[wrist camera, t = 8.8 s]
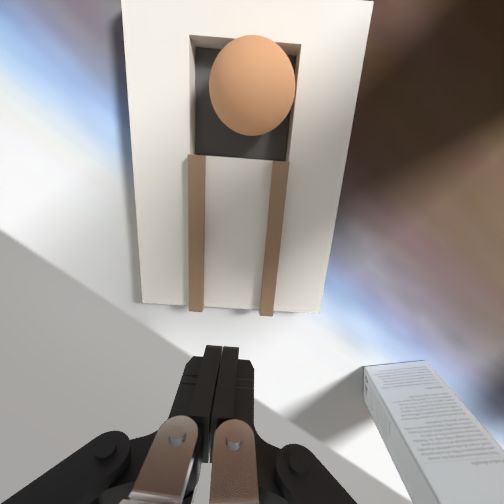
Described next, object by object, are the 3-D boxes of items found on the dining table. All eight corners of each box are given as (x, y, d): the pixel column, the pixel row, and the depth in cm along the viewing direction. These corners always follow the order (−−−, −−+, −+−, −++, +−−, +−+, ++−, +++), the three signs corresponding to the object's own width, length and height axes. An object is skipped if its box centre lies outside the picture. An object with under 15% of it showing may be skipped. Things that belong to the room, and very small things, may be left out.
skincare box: (362, 398, 27) (440, 569, 16) (362, 364, 26) (449, 525, 15) (423, 393, 27) (547, 563, 16) (427, 358, 26) (566, 517, 14)
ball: (233, 25, 12) (203, 136, 15) (325, 70, 14) (282, 159, 17) (218, 10, 15) (196, 103, 18) (294, 48, 17) (263, 126, 20)
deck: (134, -1, 17) (112, -31, 14) (360, 18, 17) (379, -7, 14) (151, 291, 23) (138, 308, 21) (314, 301, 24) (321, 319, 21)
